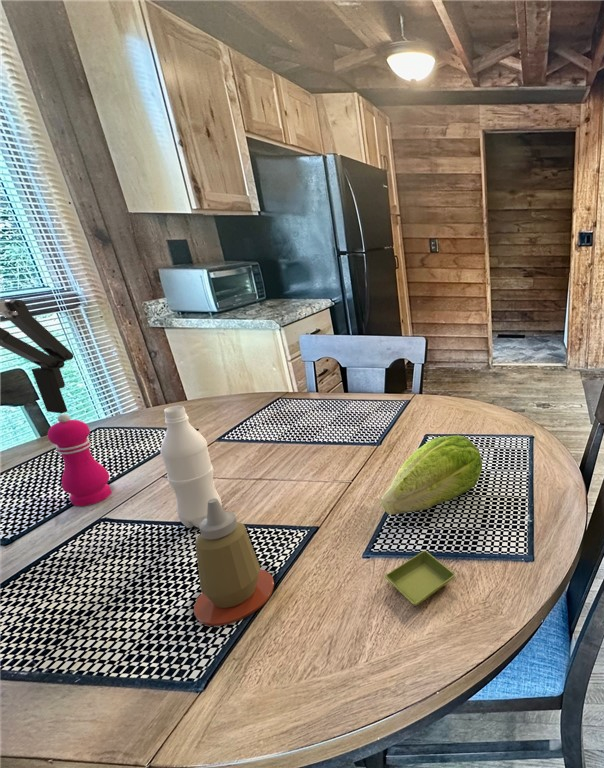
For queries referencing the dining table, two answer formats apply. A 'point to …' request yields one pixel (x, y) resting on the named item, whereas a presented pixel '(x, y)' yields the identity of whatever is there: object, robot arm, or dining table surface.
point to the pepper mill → (79, 462)
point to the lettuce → (434, 475)
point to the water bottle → (187, 467)
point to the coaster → (220, 616)
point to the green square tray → (420, 577)
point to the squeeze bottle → (225, 558)
